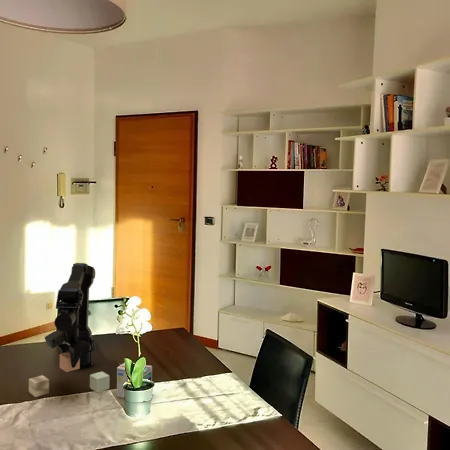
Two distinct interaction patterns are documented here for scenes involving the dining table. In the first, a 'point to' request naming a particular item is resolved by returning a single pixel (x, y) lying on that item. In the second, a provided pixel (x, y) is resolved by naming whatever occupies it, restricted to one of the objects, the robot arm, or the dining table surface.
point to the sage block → (99, 381)
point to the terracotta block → (67, 362)
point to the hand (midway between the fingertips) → (69, 365)
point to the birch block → (38, 386)
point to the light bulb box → (123, 377)
